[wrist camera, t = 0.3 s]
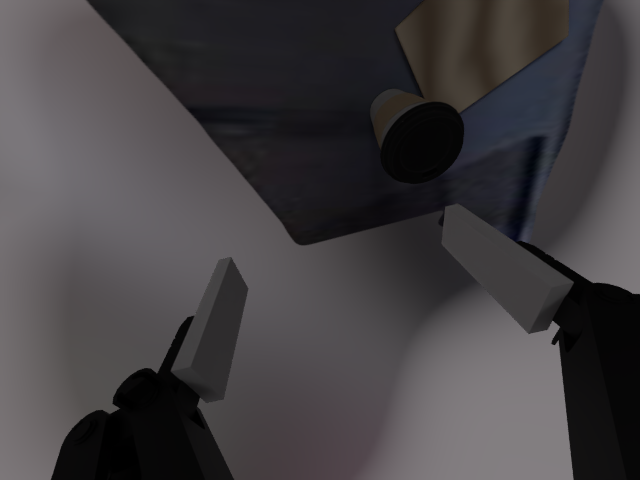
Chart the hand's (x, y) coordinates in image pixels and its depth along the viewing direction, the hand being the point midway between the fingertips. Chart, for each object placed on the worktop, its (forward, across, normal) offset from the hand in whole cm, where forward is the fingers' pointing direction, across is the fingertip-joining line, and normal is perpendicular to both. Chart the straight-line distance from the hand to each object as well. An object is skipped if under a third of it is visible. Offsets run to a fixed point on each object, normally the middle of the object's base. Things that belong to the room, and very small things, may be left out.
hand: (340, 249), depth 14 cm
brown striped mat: (+27, +26, +10) cm, 38 cm away
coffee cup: (+29, +13, +3) cm, 32 cm away
